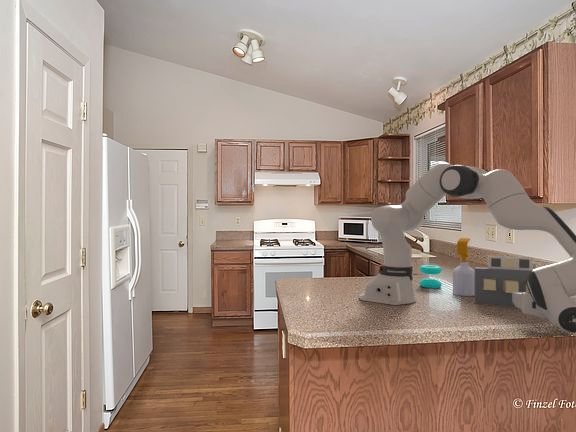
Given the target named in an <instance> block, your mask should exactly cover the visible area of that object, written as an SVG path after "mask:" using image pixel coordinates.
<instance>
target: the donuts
mask: <svg viewBox="0 0 576 432" xmlns="http://www.w3.org/2000/svg"><path fill="white" fill-rule="evenodd" d="M419 271H420V273H422V274H424V275H432V276H433V275H438V274H441V273H442V271H443V269H442V268H441V266H438V265H432V264H431V265H430V264H425V265H421V266H419ZM442 285H443V284H442V281H440V280H439V279H436V278H422V279H421V280H420V281H419V286H421V287H422V288H425V289H439V288H441V287H442Z"/></svg>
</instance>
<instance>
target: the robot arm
mask: <svg viewBox="0 0 576 432" xmlns="http://www.w3.org/2000/svg"><path fill="white" fill-rule="evenodd" d="M447 195H448V196H451V197H454V198H459V199H463V200H465V199H466V200H470V199H471V200H484V201H485V203H486V205H487V207H488V208H487V209H488V210H489V212H490V213H491V215H492V217H493V219H494V220H495V221H496V223H497V224H499V225H500V226H501V227H503V228H506V229H509V230H516V231H517V230H518V231H526V230H528V231H529V230H530V231H534V230H535V231H540V232H541V231H542V232H546V233H548V234H549V235H551V236H553V238H555V240H556V241H557V242H558V244H559V245H560V246H561V247H562V248H563V249H564V250H565V252H566V253H567V254H568V255H569V256H570V257H569V258H568V259H564V260H561V261H557V262H554V263H551V264H546V265H543V266H539V267H536V269H533V270H531V271H530V272H529V274H528V276H527V280H526V284H527V288H528V290H529V292H513V293H512V302H513V304H514V305H515V306H516V307H515V308H517V309H520V310H521V312H522V313H523V314H524V315H529V316H535V317H539V318H543V319H545V320H548V321H549V322H551V324H553V326H555V327H556V328H557V329H560V330H561V331H563V332H566V333H570V334H576V234H575V233H574V232H573V230H572V229H571V228H570V227H569V226H568V225H567V223H565V221H563V219H562V218H561V217H560V216H559V215H558V214H557V213H556V211H553V209H551V208H550V207H549V206H542V205H539V204H537V203H536V202H534V201H533V199H531V198H530V197H529V195H528V193H527V192H526V190H525V189H524V187H523V186H522V184H521V183H520V181H519V180H518V179H517V178H516V177H515V176H514V175H513V173H512V172H511V171H509V170H507V169H503V168H501V169H494V170H492V171H489V170H488V169H483V168H480V167H477V166H473V165H472V166H471V165H470V166H469V165H463V164H455V165H453V164H451V163H448V162H444V161H443V162H439V163H437V164H436V165H434V166H433V167H431V168H430V169H429V170H427V171H426V172H425V173H424V174H423V175H421V176H420V177H419V178H418V180H416V181H415V182H414V183H412V185H411V186H410V187H409V188H408V189H407V191H406V192H405V200H404V201H403V202H402V203H400V204H397V205H396V204H393V205H392V204H387V205H386V204H385V205H381V206H378V207H376V208H375V209H374V210H372V213H371V215H370V223H371V225H372V227H373V229H375V230H376V232H377V233H378V234H379V237H380V240H381V244H382V248H383V264H379V266H378V274H377V275H375V276H374V277H372V278H371V279H370V280H369V281H368V282H367V283H366V284H365V288H364V291H363V292H362V293H360V294H359V297H358V299H359V300H360V301H364V302H370V303H378V304H384V305H385V304H386V305H393V306H400V305H406V304H413V303H416V302H417V300H416V297H415V292H414V287H413V286H414V284H413V279H414V267H413V264H412V263H413V261H412V260H413V259H412V257H413V252H412V250H413V248H412V246H411V245H410V243H408V241H407V240H406V237H405V232H407V233H408V232H412V231H416V230H418V229H419V228H421V227H422V225H423V223H424V221H425V220H424V219H425V216H426V214H427V213H428V211H429V210H430V209H432V208H433V207H434V206H436V204H437V203H439V202H440V201H441V200H442V199H443V198H444V197H445V196H447Z"/></svg>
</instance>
